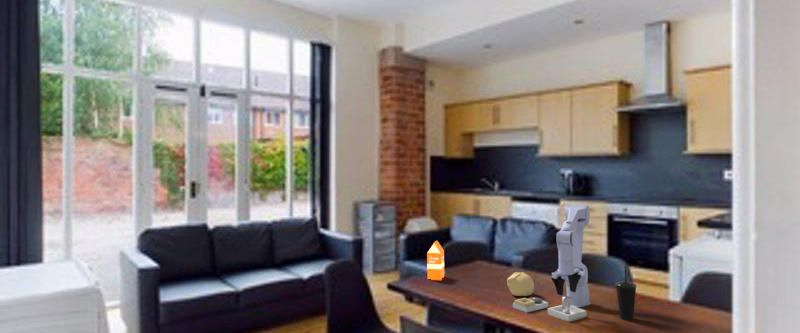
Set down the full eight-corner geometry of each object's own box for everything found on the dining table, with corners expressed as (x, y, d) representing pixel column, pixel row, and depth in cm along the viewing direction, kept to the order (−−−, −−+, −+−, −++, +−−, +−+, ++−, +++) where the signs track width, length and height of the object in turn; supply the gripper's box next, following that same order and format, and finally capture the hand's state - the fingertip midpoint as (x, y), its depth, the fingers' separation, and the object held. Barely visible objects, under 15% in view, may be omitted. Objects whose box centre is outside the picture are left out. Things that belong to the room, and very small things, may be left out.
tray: (565, 310, 198) (565, 304, 198) (586, 317, 189) (586, 310, 189) (547, 314, 193) (547, 308, 193) (568, 322, 184) (568, 315, 184)
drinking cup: (630, 315, 191) (630, 266, 190) (641, 321, 183) (640, 270, 183) (612, 315, 190) (611, 266, 190) (621, 322, 183) (621, 271, 182)
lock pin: (564, 312, 194) (564, 295, 194) (571, 314, 191) (571, 297, 191) (560, 314, 192) (560, 297, 192) (567, 316, 189) (567, 298, 189)
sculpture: (514, 290, 230) (514, 268, 230) (537, 294, 223) (537, 271, 222) (503, 295, 221) (503, 272, 221) (527, 300, 214) (527, 276, 213)
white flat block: (534, 302, 210) (534, 294, 210) (548, 307, 203) (548, 298, 203) (513, 307, 203) (512, 299, 203) (526, 312, 196) (526, 304, 196)
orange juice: (427, 279, 254) (426, 242, 253) (431, 275, 262) (430, 240, 262) (441, 280, 251) (440, 243, 251) (444, 276, 260) (444, 240, 260)
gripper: (570, 256, 198) (570, 288, 198) (545, 260, 191) (546, 293, 191) (584, 259, 192) (584, 292, 192) (559, 264, 185) (560, 298, 185)
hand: (566, 293), depth 191 cm, fingers open, 7 cm apart
